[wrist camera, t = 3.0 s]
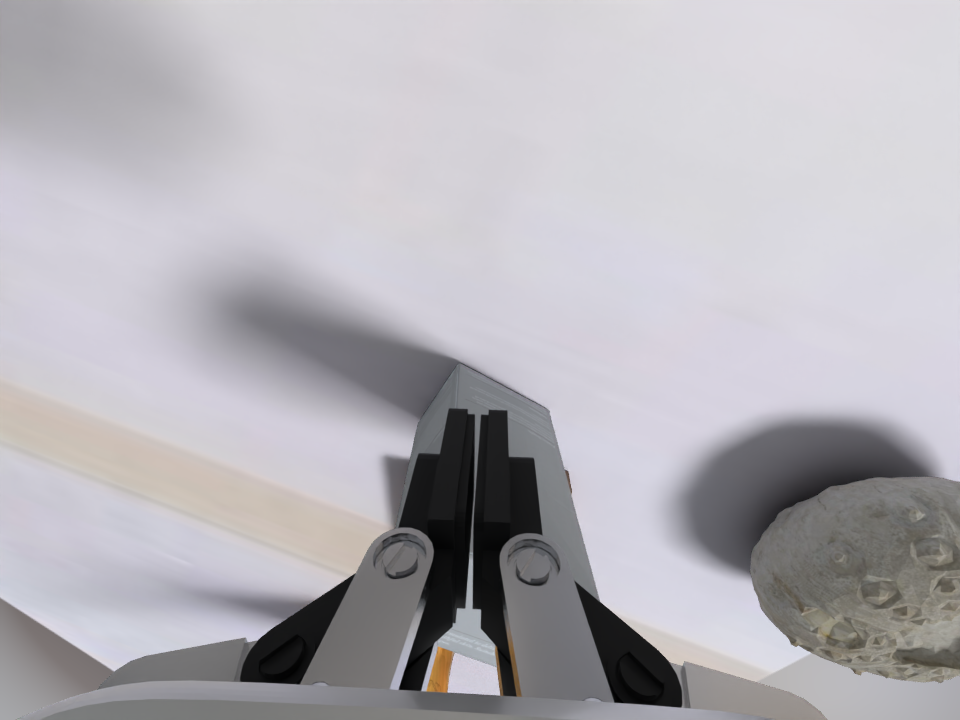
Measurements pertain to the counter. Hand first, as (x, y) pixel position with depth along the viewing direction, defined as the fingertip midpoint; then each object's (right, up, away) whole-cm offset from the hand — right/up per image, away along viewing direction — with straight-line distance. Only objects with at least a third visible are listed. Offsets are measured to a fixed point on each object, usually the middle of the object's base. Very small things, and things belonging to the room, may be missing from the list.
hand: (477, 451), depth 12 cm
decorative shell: (+31, -11, +24) cm, 40 cm away
